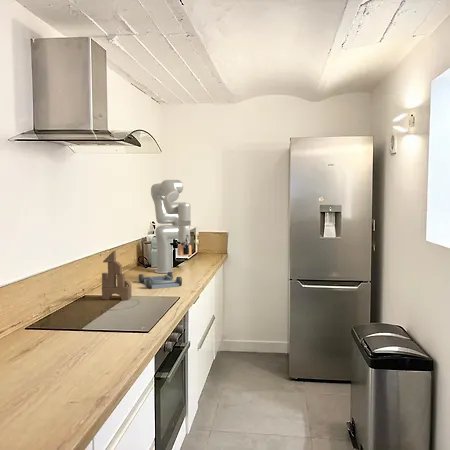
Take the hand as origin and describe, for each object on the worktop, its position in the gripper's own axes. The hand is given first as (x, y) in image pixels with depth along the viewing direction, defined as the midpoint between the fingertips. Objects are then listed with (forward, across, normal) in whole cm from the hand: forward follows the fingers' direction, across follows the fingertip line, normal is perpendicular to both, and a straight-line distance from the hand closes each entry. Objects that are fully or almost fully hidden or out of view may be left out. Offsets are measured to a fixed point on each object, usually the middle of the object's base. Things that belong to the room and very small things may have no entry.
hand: (184, 253), depth 284 cm
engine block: (+1, 0, 0) cm, 1 cm away
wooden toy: (+18, +27, -47) cm, 57 cm away
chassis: (+17, 0, -16) cm, 23 cm away
